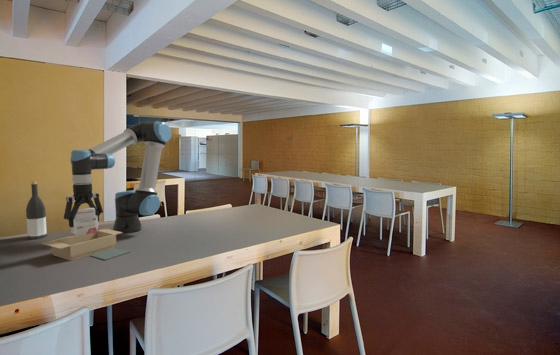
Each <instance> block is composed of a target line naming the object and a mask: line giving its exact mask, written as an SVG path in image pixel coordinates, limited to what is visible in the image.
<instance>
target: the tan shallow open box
mask: <svg viewBox="0 0 560 355" xmlns="http://www.w3.org/2000/svg"><path fill="white" fill-rule="evenodd" d="M96 232H97V233H91V234H85V235H78V236H75V234H73V235H70V236H64V237H61V238H58V239H53V240H49V241H45V242H41V245H44V246H48V247H51V255H52V256H54V257H58V258H61V259H64V260H67V261H74V260H77V259H80V258H84V257H87V256H90V255H92V254H95V253H99V252H102V251H106V250H109V249H112V248H117V235H121V234H124V233H123V232H119V231H114V230H113V229H109V228H101V229H96Z"/></svg>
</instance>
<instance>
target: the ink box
mask: <svg viewBox="0 0 560 355" xmlns="http://www.w3.org/2000/svg"><path fill="white" fill-rule="evenodd" d="M74 220H76V233H77V234H74V235H75V236H78V235H85V234H91V233H97V232H96V230H97V229H96V216H95V208H90V207H83V208H82V207H81V208H79V209H78V211H77V213H76V215H75V218H74Z"/></svg>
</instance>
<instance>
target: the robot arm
mask: <svg viewBox="0 0 560 355" xmlns="http://www.w3.org/2000/svg"><path fill="white" fill-rule="evenodd" d="M171 138H172V129H171V127H170V125H168V124H167V123H166V122H164V121H142V122H141V121H140V122H138V123H136V124H134V125H131V126H130V127H128V128H126V129H124V130H123V132H121V133H120V134H118V135H116V136H113V137H111V138H109V139H107V140H105V141H103V142H101V143H98V144H97V145H94V146H93V147H91V148H89V149H73V150H72V151H70V152H71V153H70V164H71V174H72V183H73V185H72V191H73V195H72V196H67V197H66V198H65V200H66V204H65V209H64V214H63V219H64V220H67V221H68V226H69V228H71V229H70V231H71V234H73V235H75V234H77V233H76V220H74V218H75V215H76V213H77V211H78V209H80V207H81V205H84V204H87V205H88V208H95V216H96V230H99V222H100V215H101V214H103V213H104V210H103V206H102V205H101V201H100V194H99V193H98V192H97V193H96V192H95V193H93V184H92V181H93V178H92V171H93V170H107V169H112V168H114V167H115V165H116V164H115V163H116V159H115V156H114V155H113V154H115V153H117V152H119V151H121V150H122V149H125V148H127V147H128V146H130V145H136V144H138V143H143V144H144V145H145V151H144V156H143V157H144V158H143V161H142V168H141V174H140V180H139V186H138V187H137V188H135V190H134V189H133V190H125V191H117V192H116V193H115V194H114V196H115V198H114V204H115V220H114V224H113V226H112V230H114V231H119V232H123V233H122V234H130V233H135V232H138V231H139V232H140V231H141V230H142V229H143V228H142V223H141V220H140V217H139V215H141V216H152V215H154V214H155V213H157V212H158V210H160V209H159V208H160V206H161V200H160V197H159V196H158V191H157V189H156V185H157V180H158V174H159V168H160V162H161V156H162V149H164V148H166V143H167V142H169V141H170V140H172V139H171ZM92 198H93V200H94V201H93V200H92ZM73 202H74V203H73Z"/></svg>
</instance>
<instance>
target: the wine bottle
mask: <svg viewBox="0 0 560 355" xmlns="http://www.w3.org/2000/svg"><path fill="white" fill-rule="evenodd" d="M30 187H31V197H30V198H29V200H28V202H27V204H26V209H25V213H26V214H25V216H26V217H25V218H26V231H27V238H28V239H29V240H40V239H44V238H46V237H47V216H46V215H47V214H46V206H45V203H44V201H43V200H42V199H41V197H40V196H39V192H38V191H39V190H38V181H36V180H35V181H34V180H33V181H31V186H30Z"/></svg>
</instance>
